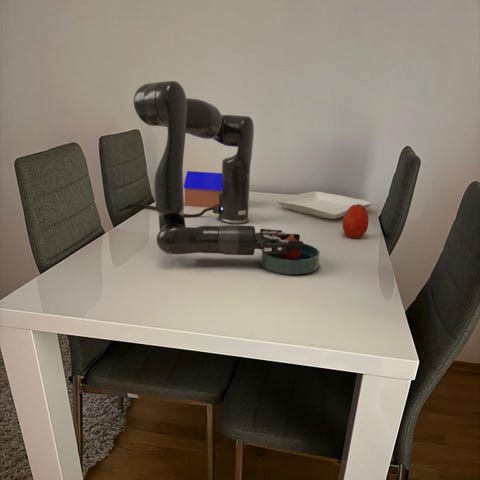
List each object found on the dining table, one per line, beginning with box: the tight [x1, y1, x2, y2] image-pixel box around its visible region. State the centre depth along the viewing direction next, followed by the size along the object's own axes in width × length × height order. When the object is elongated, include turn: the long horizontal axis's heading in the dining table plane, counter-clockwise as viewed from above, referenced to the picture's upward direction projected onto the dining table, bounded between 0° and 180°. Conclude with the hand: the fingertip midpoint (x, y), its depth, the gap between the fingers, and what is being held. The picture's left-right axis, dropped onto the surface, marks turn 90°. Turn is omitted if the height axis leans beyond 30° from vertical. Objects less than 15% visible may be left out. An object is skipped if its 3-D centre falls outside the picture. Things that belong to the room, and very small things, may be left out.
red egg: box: [341, 204, 370, 239], centre depth 144 cm, size 8×8×11 cm
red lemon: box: [280, 235, 301, 260], centre depth 119 cm, size 6×6×8 cm
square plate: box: [275, 190, 374, 220], centre depth 173 cm, size 27×27×4 cm
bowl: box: [260, 242, 321, 275], centre depth 120 cm, size 15×15×4 cm
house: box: [183, 170, 222, 208], centre depth 174 cm, size 12×20×12 cm, turn 81°
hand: (300, 241), depth 118 cm, fingers closed on red lemon, 5 cm apart
